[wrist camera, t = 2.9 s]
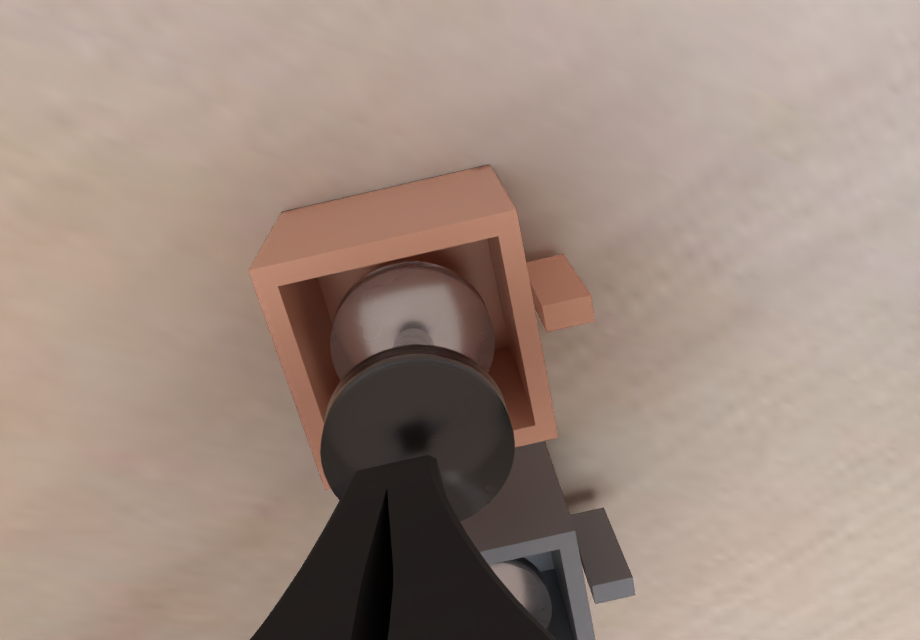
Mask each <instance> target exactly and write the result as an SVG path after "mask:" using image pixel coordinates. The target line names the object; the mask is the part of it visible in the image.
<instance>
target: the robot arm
mask: <svg viewBox="0 0 920 640" xmlns="http://www.w3.org/2000/svg"><path fill="white" fill-rule="evenodd" d="M250 640H557V639H556V638H555V637H554V636H553V635H552V634H551V633H550V632H549V631H548V630H547V629H545V628H544V627H543V626H542V625H541V624H540V623H539V622H538V621H537V620H536V619H535V618H534V617H533V616H532V615H531V614H530V613H529V612H528V611H527V610H526V608H525V607H524V606H523V605H522V604H521V603H520V602H519V601H518V600H517V599H516V598H515V597H514V595H513V594H512V593H511V592H510V591H509V589H508V588H507V587H506V586H505V585H504V584H503V582H502V581H501V580H500V579H499V578H498V576H497V575H496V574H495V573H494V571H493V570H492V569H491V567H490V566H489V565H488V563H487V562H486V561H485V559H484V558H483V556H482V555H481V553H480V552H479V551H478V549H477V548H476V546H475V545H474V543H473V542H472V540H471V539H470V537H469V536H468V534H467V533H466V531H465V529H464V528H463V526H462V524H461V522H460V521H459V519H458V517H457V515H456V514H455V512H454V510H453V508H452V506H451V504H450V502H449V500H448V498H447V496H446V492H445V489H444V485H443V481H442V478H441V474H440V470H439V467H438V463H437V459H435V458H434V457H432V456H430V455H424V456H420V457H415V458H411V459H407V460H402V461H398V462H393V463H389V464H384V465H380V466H376V467H371V468H367V469H362V470H358V471H356V472H355V474H354V475H353V477H352V478H351V480H350V482H349V484H348V486H347V488H346V489H345V491H344V493H343V495H342V497H341V499H340V501H339V503H338V505H337V506H336V508H335V510H334V512H333V514H332V516H331V517H330V519H329V521H328V523H327V525H326V527H325V528H324V530H323V532H322V533H321V535H320V537H319V539H318V540H317V542H316V544H315V545H314V547H313V549H312V550H311V552H310V554H309V556H308V557H307V559H306V561H305V562H304V564H303V565H302V567H301V569H300V570H299V572H298V573H297V575H296V576H295V578H294V579H293V581H292V582H291V584H290V585H289V587H288V588H287V590H286V591H285V593H284V594H283V596H282V597H281V599H280V600H279V602H278V603H277V605H276V606H275V607H274V609H273V610H272V612H271V613H270V614H269V616H268V617H267V618H266V620H265V621H264V623H263V624H262V625H261V627H260V628H259V629H258V630H257V632H256V633H255V634H254V635H253V637H252V638H251V639H250Z"/></svg>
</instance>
